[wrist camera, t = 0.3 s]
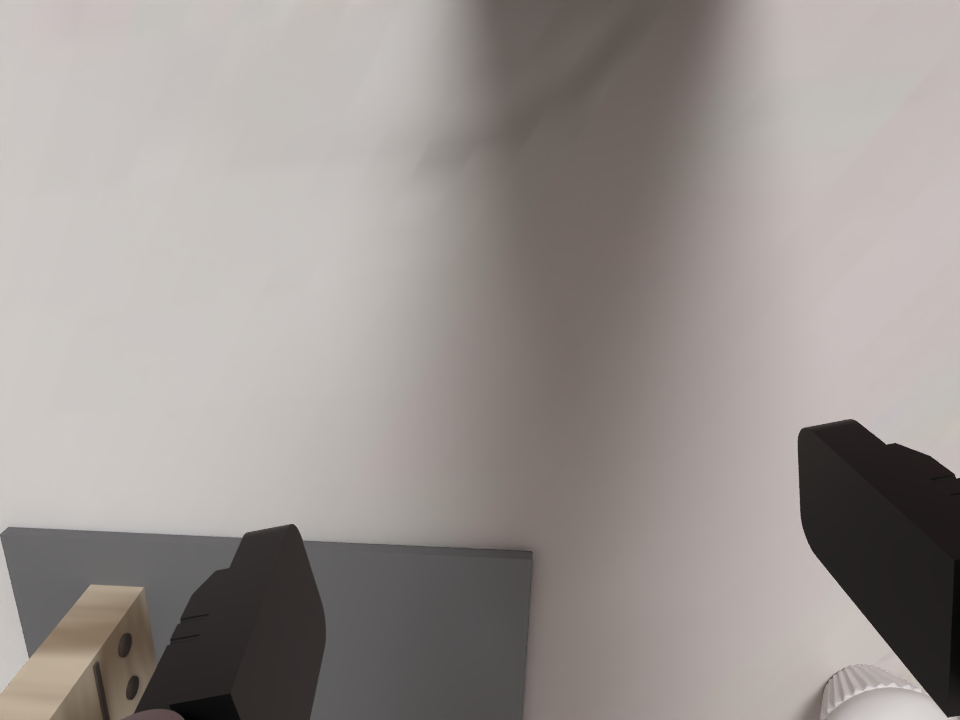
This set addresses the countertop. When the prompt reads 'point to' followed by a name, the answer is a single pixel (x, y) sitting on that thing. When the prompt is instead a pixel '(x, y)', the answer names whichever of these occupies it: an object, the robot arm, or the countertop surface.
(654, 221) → the countertop surface
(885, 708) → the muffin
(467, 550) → the mat
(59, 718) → the domino
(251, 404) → the countertop surface
